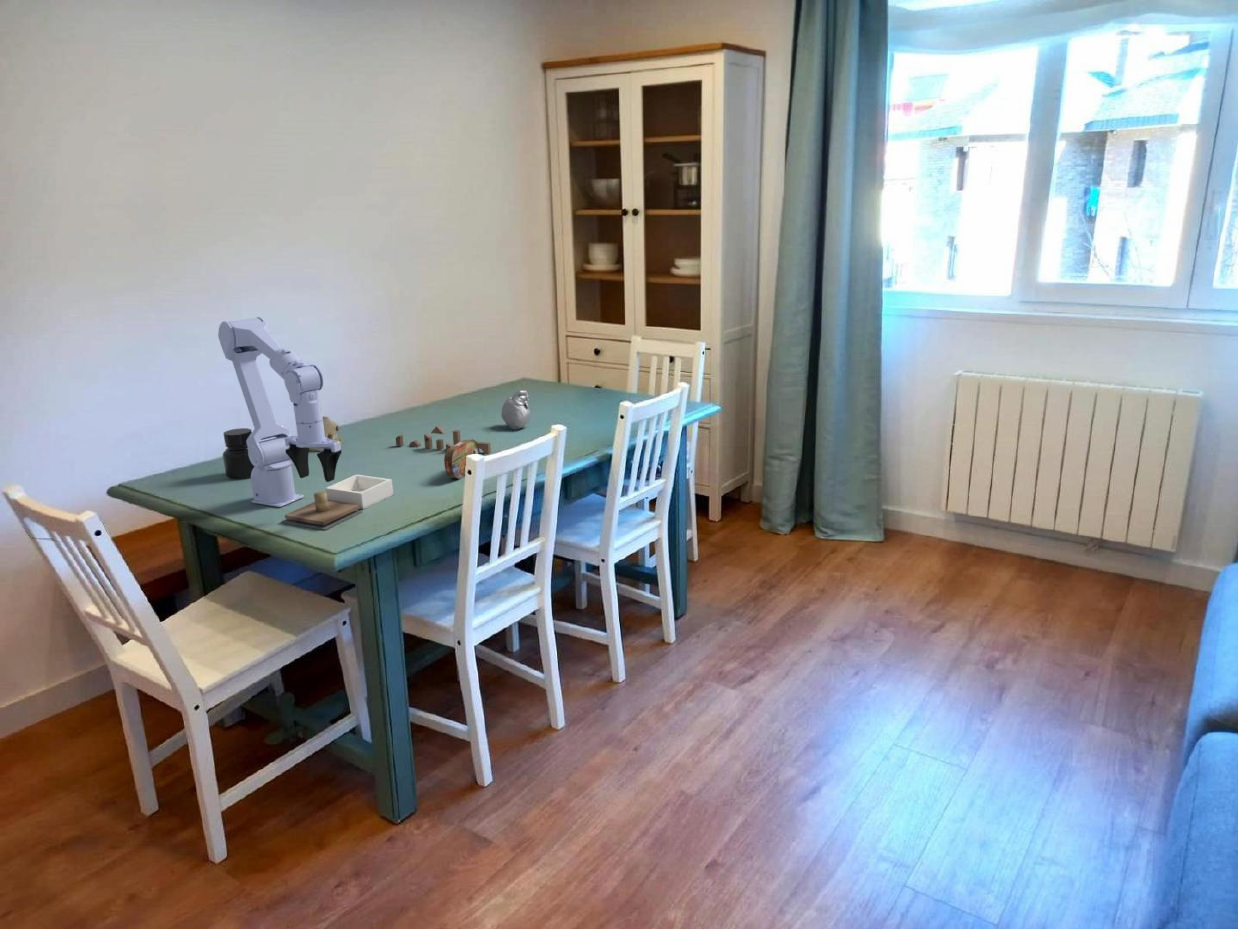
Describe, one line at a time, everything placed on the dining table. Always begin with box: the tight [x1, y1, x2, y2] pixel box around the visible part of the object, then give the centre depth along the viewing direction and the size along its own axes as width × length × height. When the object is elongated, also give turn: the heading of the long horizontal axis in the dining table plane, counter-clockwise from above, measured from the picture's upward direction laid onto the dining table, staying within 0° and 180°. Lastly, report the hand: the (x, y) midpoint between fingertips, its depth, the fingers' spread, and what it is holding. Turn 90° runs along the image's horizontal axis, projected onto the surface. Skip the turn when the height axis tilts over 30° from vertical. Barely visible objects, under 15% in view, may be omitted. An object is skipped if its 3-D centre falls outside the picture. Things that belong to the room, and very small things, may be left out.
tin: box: [443, 438, 481, 480], centre depth 226 cm, size 15×3×8 cm, turn 161°
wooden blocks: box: [395, 425, 492, 455], centre depth 249 cm, size 30×3×7 cm, turn 72°
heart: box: [500, 390, 531, 431], centre depth 269 cm, size 10×10×12 cm
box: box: [324, 473, 394, 511], centre depth 209 cm, size 11×11×4 cm
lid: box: [284, 491, 360, 525], centre depth 198 cm, size 12×12×5 cm
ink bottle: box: [222, 428, 255, 480], centre depth 229 cm, size 10×9×12 cm
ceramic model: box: [309, 415, 343, 452], centre depth 253 cm, size 14×11×10 cm
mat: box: [281, 509, 363, 531], centre depth 199 cm, size 13×12×1 cm
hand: (317, 478), depth 196 cm, fingers open, 7 cm apart
